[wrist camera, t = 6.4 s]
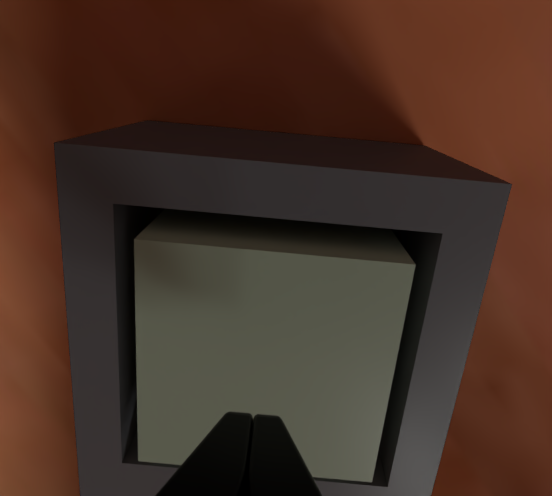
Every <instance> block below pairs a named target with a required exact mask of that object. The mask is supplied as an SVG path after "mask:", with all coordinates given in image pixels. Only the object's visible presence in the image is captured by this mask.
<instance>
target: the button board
mask: <svg viewBox="0 0 552 496" xmlns="http://www.w3.org/2000/svg"><path fill="white" fill-rule="evenodd" d="M54 150H55V164H56V177H57V191H58V204H59V217H60V231H61V244H62V258H63V271H64V284H65V298H66V311H67V325H68V338H69V352H70V365H71V378H72V392H73V405H74V419H75V432H76V446H77V459H78V472H79V486H80V496H155V495H156V494H157V493H158V492H159V491H160V489H161V488H162V487H163V486H164V485H165V483H166V482H167V481H168V480H169V479H170V478H171V476H172V475H173V474H174V473H175V472H176V471H177V469H178V468H179V467H180V466H181V465H175V464H164V463H153V462H142V461H138V427H137V374H136V320H135V267H134V239H135V238H136V237H137V236H138V235H139V234H140V233H141V232H142V231H143V230H144V229H145V228H146V227H147V226H148V225H149V224H150V223H151V222H152V221H153V220H154V219H155V218H156V217H157V216H158V215H159V214H160V213H161V212H162V211H163V210H164V209H165V208H166V209H177V210H188V211H199V212H210V213H221V214H232V215H243V216H254V217H265V218H276V219H287V220H298V221H310V222H321V223H332V224H343V225H354V226H365V227H376V228H387V229H391V230H392V231H393V233H394V234H395V236H396V237H397V239H398V240H399V241H400V243H401V244H402V246H403V247H404V249H405V250H406V251H407V253H408V254H409V256H410V257H411V259H412V260H413V261H414V263H415V264H416V266H415V271H414V276H413V281H412V286H411V291H410V296H409V301H408V306H407V311H406V316H405V321H404V326H403V331H402V336H401V341H400V346H399V351H398V356H397V361H396V366H395V371H394V375H393V380H392V385H391V390H390V395H389V400H388V405H387V410H386V415H385V420H384V425H383V430H382V435H381V440H380V445H379V450H378V455H377V460H376V465H375V470H374V475H373V480H372V482H362V481H351V480H340V479H329V478H318V477H313V479H314V481H315V483H316V485H317V486H318V488H319V490H320V492H321V494H322V496H431V494H432V490H433V486H434V482H435V478H436V474H437V470H438V467H439V463H440V459H441V455H442V451H443V447H444V444H445V440H446V436H447V432H448V428H449V424H450V420H451V417H452V413H453V409H454V405H455V401H456V397H457V393H458V390H459V386H460V382H461V378H462V374H463V370H464V366H465V363H466V359H467V355H468V351H469V347H470V343H471V340H472V336H473V332H474V328H475V324H476V320H477V316H478V313H479V309H480V305H481V301H482V297H483V293H484V289H485V286H486V282H487V278H488V274H489V270H490V266H491V262H492V259H493V255H494V251H495V247H496V243H497V239H498V235H499V232H500V228H501V224H502V220H503V216H504V212H505V209H506V205H507V201H508V197H509V193H510V189H511V185H512V184H510V183H508V182H506V181H504V180H501V179H499V178H497V177H494V176H492V175H490V174H488V173H485V172H483V171H481V170H479V169H476V168H474V167H472V166H470V165H467V164H465V163H463V162H461V161H458V160H456V159H454V158H452V157H449V156H447V155H445V154H443V153H440V152H438V151H436V150H434V149H431V148H429V147H427V146H424V145H412V144H401V143H390V142H379V141H368V140H357V139H346V138H335V137H324V136H313V135H302V134H291V133H280V132H269V131H258V130H247V129H236V128H225V127H214V126H203V125H192V124H181V123H170V122H159V121H148V120H147V121H143V122H138V123H134V124H130V125H126V126H122V127H118V128H113V129H109V130H105V131H101V132H97V133H92V134H88V135H84V136H80V137H76V138H72V139H67V140H63V141H59V142H55V143H54Z"/></svg>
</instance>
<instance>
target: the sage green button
mask: <svg viewBox="0 0 552 496" xmlns="http://www.w3.org/2000/svg"><path fill="white" fill-rule="evenodd" d="M415 266H416V264H415V263H414V261H413V260H412V259H411V257H410V256H409V254H408V253H407V251H406V250H405V249H404V247H403V246H402V244H401V243H400V241H399V240H398V239H397V237H396V236H395V234H394V233H393V231H392V230H391V229H387V228H376V227H365V226H354V225H343V224H332V223H321V222H310V221H298V220H287V219H276V218H265V217H254V216H243V215H232V214H221V213H210V212H199V211H188V210H177V209H166V208H165V209H164V210H163V211H162V212H161V213H160V214H159V215H158V216H157V217H156V218H155V219H154V220H153V221H152V222H151V223H150V224H149V225H148V226H147V227H146V228H145V229H144V230H143V231H142V232H141V233H140V234H139V235H138V236H137V237H136V238H135V239H134V267H135V320H136V374H137V427H138V461H142V462H153V463H164V464H175V465H182V464H183V462H184V461H185V460H186V459H187V458H188V456H189V455H190V454H191V453H192V452H193V451H194V449H195V448H196V447H197V446H198V445H199V444H200V442H201V441H202V440H203V439H204V438H205V436H206V435H207V434H208V433H209V432H210V431H211V429H212V428H213V427H214V426H215V425H216V424H217V422H218V421H219V420H220V419H221V418H222V416H223V415H224V414H225V413H227V412H229V411H232V412H243V413H250V414H252V416H253V418H254V416H255V415H256V414H266V415H277V416H279V417H281V419H282V420H283V422H284V424H285V426H286V428H287V430H288V431H289V433H290V435H291V437H292V439H293V441H294V443H295V445H296V447H297V449H298V450H299V452H300V454H301V456H302V458H303V460H304V462H305V464H306V466H307V467H308V469H309V471H310V473H311V475H312V477H318V478H329V479H340V480H351V481H362V482H372V480H373V475H374V470H375V465H376V460H377V455H378V450H379V445H380V440H381V435H382V430H383V425H384V420H385V415H386V410H387V405H388V400H389V395H390V390H391V385H392V380H393V375H394V371H395V366H396V361H397V356H398V351H399V346H400V341H401V336H402V331H403V326H404V321H405V316H406V311H407V306H408V301H409V296H410V291H411V286H412V281H413V276H414V271H415Z"/></svg>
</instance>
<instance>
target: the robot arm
mask: <svg viewBox="0 0 552 496" xmlns="http://www.w3.org/2000/svg"><path fill="white" fill-rule="evenodd" d="M155 496H322V494H321V492H320V490H319V488H318V486H317V485H316V483H315V481H314V479H313V477H312V475H311V473H310V471H309V469H308V467H307V466H306V464H305V462H304V460H303V458H302V456H301V454H300V452H299V450H298V449H297V447H296V445H295V443H294V441H293V439H292V437H291V435H290V433H289V431H288V430H287V428H286V426H285V424H284V422H283V420H282V419H281V417H279V416H277V415H266V414H256V415H255V416H254V418H253V416H252V414H250V413H243V412H232V411H229V412H227V413H225V414H224V415H223V416H222V418H221V419H220V420H219V421H218V422H217V424H216V425H215V426H214V427H213V428H212V429H211V431H210V432H209V433H208V434H207V435H206V436H205V438H204V439H203V440H202V441H201V442H200V444H199V445H198V446H197V447H196V448H195V449H194V451H193V452H192V453H191V454H190V455H189V456H188V458H187V459H186V460H185V461H184V462H183V464H182V465H181V466H180V467H179V468H178V469H177V471H176V472H175V473H174V474H173V475H172V476H171V478H170V479H169V480H168V481H167V482H166V483H165V485H164V486H163V487H162V488H161V489H160V491H159V492H158V493H157V494H156V495H155Z"/></svg>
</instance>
